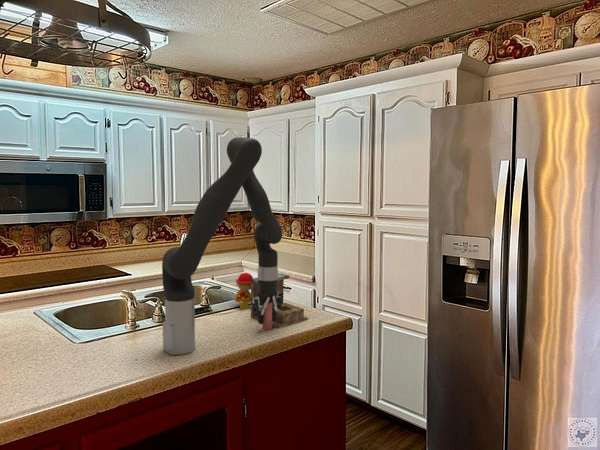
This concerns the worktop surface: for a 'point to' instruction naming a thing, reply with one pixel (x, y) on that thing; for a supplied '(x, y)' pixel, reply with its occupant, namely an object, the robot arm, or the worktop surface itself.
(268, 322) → the peg
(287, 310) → the socket station
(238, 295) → the toy
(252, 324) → the worktop surface
